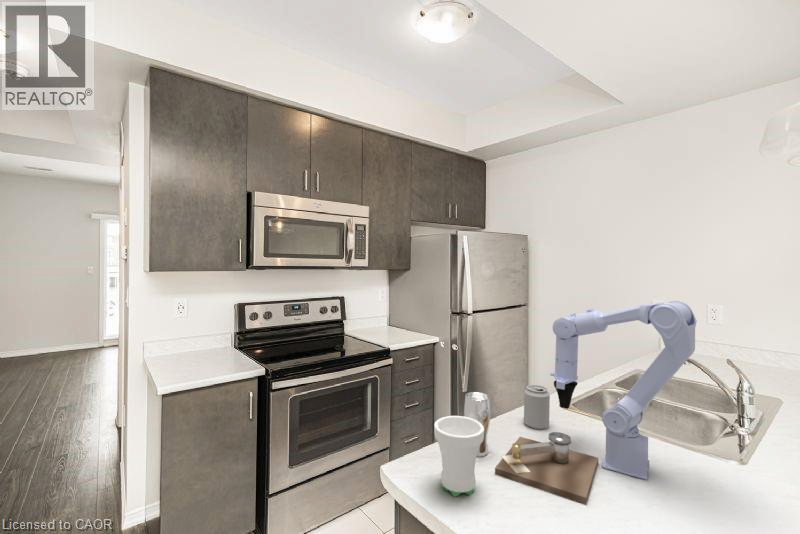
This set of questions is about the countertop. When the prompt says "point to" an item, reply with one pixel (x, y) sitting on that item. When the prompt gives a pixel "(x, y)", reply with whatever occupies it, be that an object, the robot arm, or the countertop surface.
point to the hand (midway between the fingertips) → (564, 407)
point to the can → (536, 407)
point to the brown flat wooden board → (551, 472)
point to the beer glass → (479, 414)
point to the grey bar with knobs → (546, 448)
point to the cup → (458, 451)
